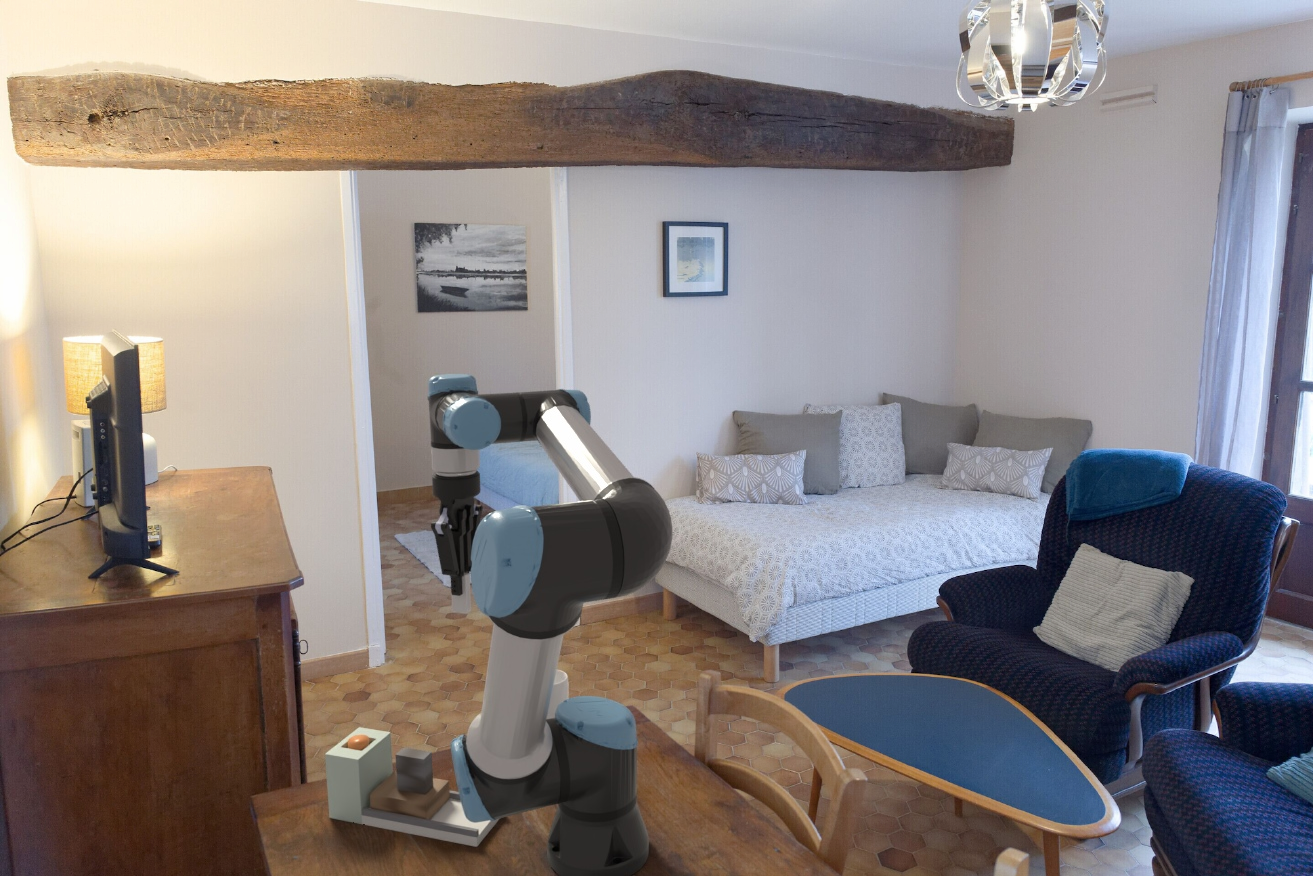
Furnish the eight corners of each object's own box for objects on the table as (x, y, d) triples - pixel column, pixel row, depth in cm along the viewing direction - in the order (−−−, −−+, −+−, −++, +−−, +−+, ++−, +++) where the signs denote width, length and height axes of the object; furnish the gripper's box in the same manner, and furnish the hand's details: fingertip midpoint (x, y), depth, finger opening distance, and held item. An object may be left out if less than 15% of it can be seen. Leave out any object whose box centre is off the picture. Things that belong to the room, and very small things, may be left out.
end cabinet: (394, 793, 153) (390, 732, 151) (362, 824, 145) (358, 759, 143) (362, 788, 155) (359, 727, 153) (329, 817, 146) (324, 753, 144)
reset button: (373, 750, 149) (372, 736, 149) (361, 759, 146) (361, 745, 146) (356, 747, 150) (355, 733, 150) (344, 756, 147) (343, 743, 147)
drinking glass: (573, 746, 168) (571, 669, 166) (565, 766, 162) (564, 686, 159) (536, 744, 169) (534, 667, 166) (527, 764, 162) (525, 684, 160)
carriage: (449, 797, 149) (447, 746, 147) (427, 822, 142) (424, 768, 141) (395, 787, 152) (392, 737, 150) (370, 811, 145) (367, 758, 143)
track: (503, 813, 147) (503, 799, 147) (476, 846, 139) (476, 831, 138) (394, 793, 153) (393, 779, 153) (362, 824, 145) (361, 809, 144)
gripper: (455, 461, 155) (460, 596, 159) (413, 478, 142) (420, 623, 146) (495, 464, 152) (500, 600, 157) (456, 481, 140) (462, 628, 144)
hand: (461, 611), depth 151 cm, fingers closed
